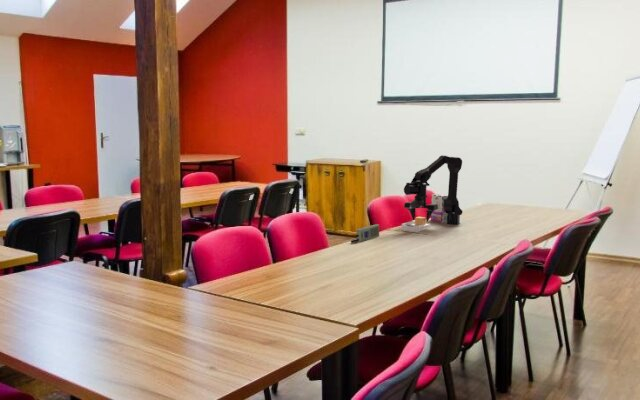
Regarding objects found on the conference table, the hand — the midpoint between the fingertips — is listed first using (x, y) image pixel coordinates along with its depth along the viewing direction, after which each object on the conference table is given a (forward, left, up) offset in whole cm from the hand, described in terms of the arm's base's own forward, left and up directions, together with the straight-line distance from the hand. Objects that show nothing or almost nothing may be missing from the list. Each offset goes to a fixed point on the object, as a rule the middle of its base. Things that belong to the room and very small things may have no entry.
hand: (420, 221), depth 337 cm
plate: (0, -9, -4) cm, 10 cm away
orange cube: (0, 0, -2) cm, 2 cm away
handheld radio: (+8, +48, -4) cm, 48 cm away
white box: (0, +5, -4) cm, 6 cm away
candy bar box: (0, -26, -4) cm, 26 cm away
